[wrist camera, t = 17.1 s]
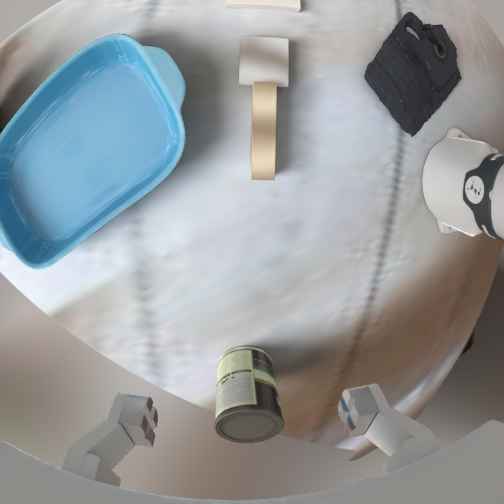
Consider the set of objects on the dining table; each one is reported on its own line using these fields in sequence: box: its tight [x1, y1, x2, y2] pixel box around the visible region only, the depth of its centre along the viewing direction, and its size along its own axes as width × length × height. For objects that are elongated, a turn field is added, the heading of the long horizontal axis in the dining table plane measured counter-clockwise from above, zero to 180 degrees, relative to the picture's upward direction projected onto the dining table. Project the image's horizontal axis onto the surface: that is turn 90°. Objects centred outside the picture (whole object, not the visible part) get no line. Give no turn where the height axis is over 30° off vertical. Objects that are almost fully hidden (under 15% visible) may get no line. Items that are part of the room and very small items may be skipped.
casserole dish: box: [0, 34, 186, 269], centre depth 28 cm, size 37×22×7 cm, turn 118°
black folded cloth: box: [364, 12, 461, 137], centre depth 27 cm, size 15×22×5 cm
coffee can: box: [214, 346, 284, 443], centre depth 40 cm, size 10×10×14 cm
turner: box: [239, 36, 289, 180], centre depth 30 cm, size 19×6×4 cm, turn 179°
